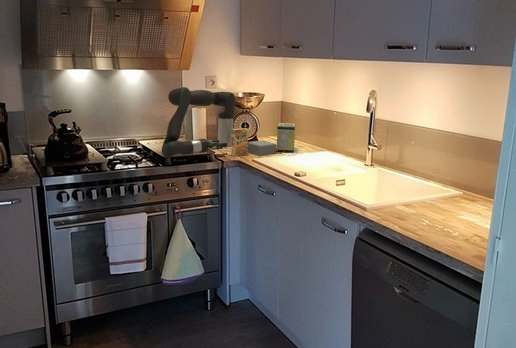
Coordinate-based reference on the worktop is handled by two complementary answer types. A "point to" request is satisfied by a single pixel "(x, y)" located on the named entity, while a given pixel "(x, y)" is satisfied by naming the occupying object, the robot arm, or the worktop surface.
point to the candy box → (239, 142)
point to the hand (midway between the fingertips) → (222, 143)
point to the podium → (261, 148)
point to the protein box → (285, 137)
